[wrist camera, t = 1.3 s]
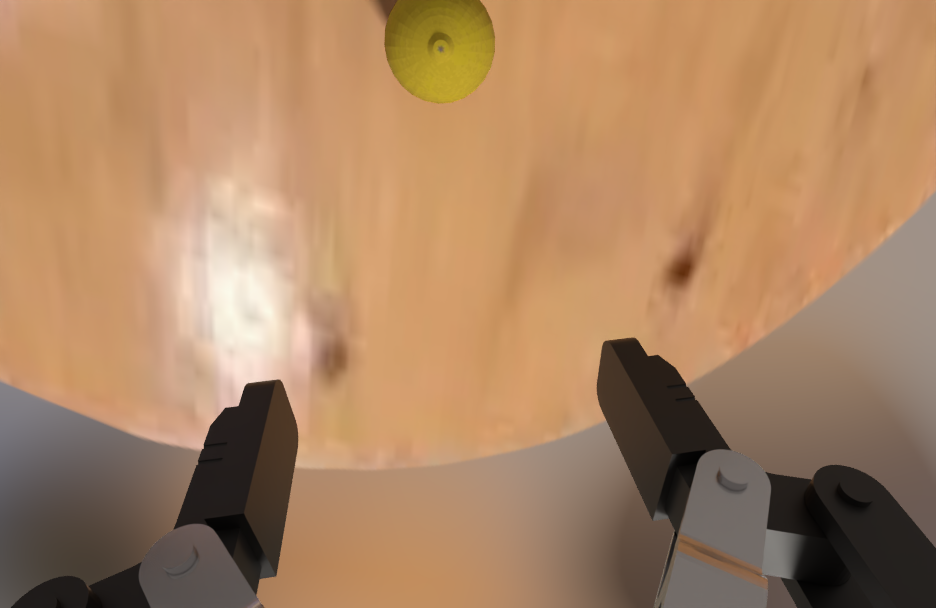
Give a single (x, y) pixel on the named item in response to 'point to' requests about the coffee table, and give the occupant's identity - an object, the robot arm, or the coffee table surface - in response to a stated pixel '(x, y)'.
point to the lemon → (439, 47)
